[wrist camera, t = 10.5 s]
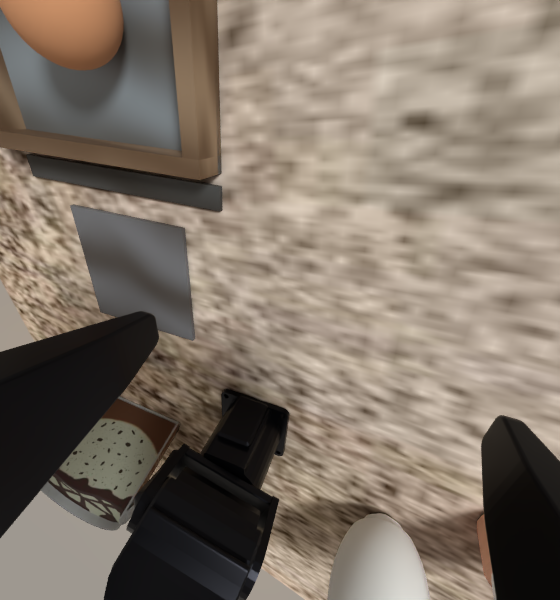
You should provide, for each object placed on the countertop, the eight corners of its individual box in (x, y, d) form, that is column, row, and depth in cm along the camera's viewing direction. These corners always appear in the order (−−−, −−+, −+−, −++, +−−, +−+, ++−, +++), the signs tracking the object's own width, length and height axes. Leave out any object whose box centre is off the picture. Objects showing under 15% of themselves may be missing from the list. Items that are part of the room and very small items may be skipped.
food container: (109, 419, 41) (35, 495, 33) (101, 388, 37) (15, 464, 29) (191, 457, 38) (133, 550, 30) (191, 427, 35) (124, 522, 27)
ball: (134, 77, 18) (128, 73, 14) (34, 67, 17) (-3, 60, 13) (117, -44, 16) (103, -89, 12) (-3, -68, 14) (-66, -130, 10)
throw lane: (225, 348, 26) (211, 367, 24) (78, 302, 30) (55, 315, 28) (211, -232, 11) (170, -303, 9) (-77, -173, 15) (-147, -215, 13)
